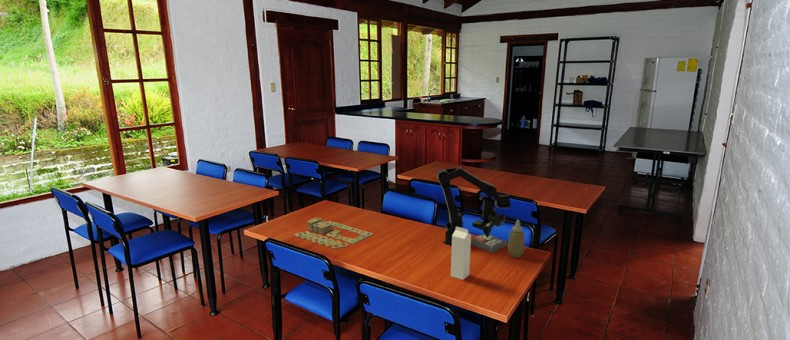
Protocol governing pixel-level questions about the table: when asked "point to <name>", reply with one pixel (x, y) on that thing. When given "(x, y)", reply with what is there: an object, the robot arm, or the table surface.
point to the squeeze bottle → (516, 241)
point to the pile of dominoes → (325, 227)
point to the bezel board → (487, 247)
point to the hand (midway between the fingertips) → (487, 236)
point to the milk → (460, 253)
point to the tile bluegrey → (497, 241)
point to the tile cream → (490, 243)
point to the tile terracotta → (481, 239)
